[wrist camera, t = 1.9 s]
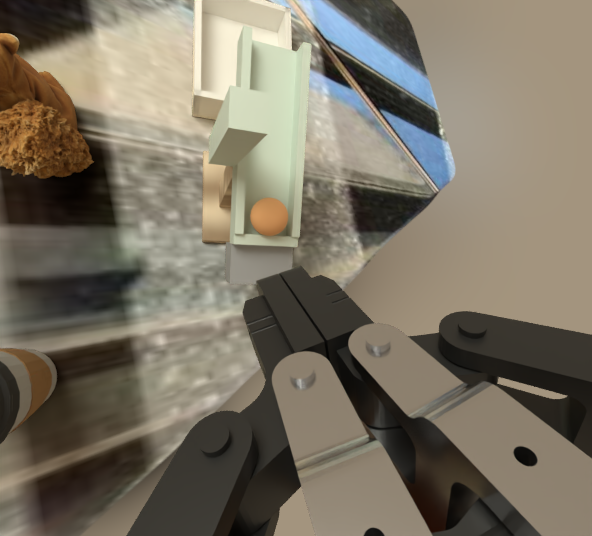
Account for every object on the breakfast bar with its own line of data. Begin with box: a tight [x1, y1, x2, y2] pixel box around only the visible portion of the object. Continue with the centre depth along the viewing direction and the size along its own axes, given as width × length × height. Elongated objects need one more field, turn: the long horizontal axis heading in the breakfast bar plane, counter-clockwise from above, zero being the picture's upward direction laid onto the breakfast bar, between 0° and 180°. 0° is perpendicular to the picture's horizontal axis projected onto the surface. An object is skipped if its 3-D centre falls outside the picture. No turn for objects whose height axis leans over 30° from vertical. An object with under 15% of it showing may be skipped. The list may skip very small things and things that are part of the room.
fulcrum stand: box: [202, 151, 233, 243], centre depth 40 cm, size 12×10×11 cm
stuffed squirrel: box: [0, 33, 94, 179], centre depth 32 cm, size 10×14×13 cm
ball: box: [250, 198, 288, 236], centre depth 32 cm, size 4×4×4 cm
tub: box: [192, 0, 292, 120], centre depth 46 cm, size 16×13×4 cm
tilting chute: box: [208, 25, 311, 284], centre depth 29 cm, size 23×10×16 cm, turn 2°
